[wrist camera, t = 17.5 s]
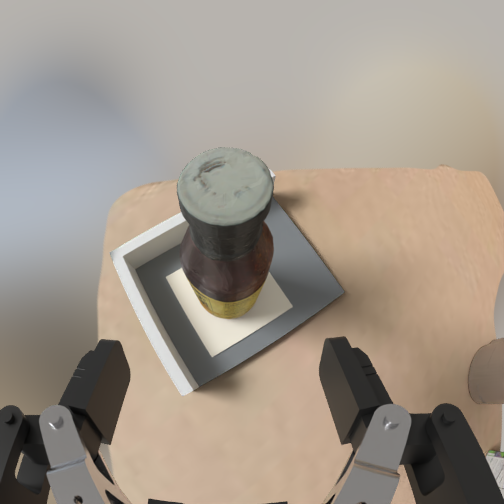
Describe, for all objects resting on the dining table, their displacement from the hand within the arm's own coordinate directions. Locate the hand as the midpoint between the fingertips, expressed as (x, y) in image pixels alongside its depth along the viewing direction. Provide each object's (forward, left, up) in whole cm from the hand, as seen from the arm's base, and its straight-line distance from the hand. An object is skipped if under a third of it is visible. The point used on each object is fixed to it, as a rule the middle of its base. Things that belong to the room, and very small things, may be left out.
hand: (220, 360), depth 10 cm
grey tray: (-5, -7, -19) cm, 21 cm away
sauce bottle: (-4, -6, -18) cm, 20 cm away
